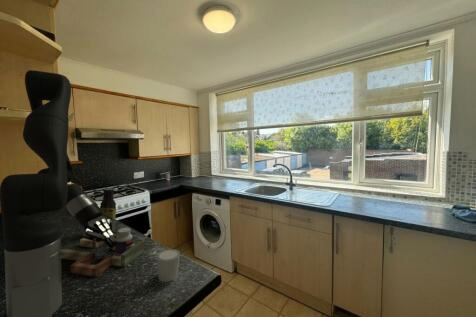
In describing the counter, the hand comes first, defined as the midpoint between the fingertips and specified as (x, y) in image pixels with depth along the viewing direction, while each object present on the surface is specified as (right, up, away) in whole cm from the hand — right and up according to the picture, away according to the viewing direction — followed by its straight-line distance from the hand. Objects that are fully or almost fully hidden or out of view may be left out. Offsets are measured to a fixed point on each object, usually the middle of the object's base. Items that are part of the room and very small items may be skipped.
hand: (114, 245), depth 72 cm
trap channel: (-5, -4, +1) cm, 6 cm away
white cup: (+23, -5, -10) cm, 25 cm away
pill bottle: (+3, -4, +1) cm, 5 cm away
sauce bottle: (-15, -2, +19) cm, 25 cm away
